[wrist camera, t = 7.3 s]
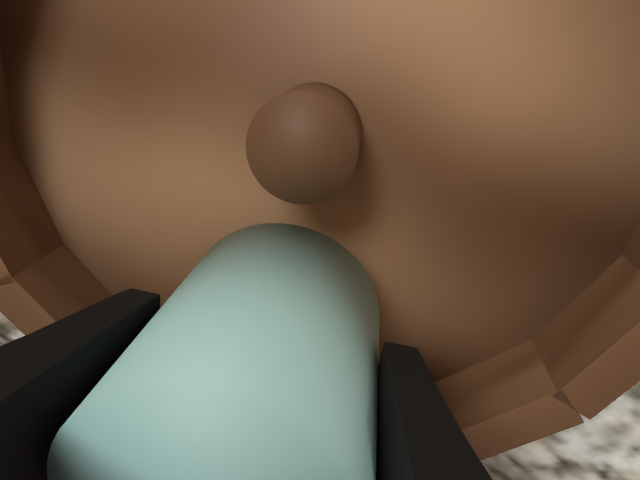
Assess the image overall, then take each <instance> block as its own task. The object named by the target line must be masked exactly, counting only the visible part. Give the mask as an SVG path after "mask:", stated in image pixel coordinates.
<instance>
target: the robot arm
mask: <svg viewBox="0 0 640 480" xmlns="http://www.w3.org/2000/svg"><path fill="white" fill-rule="evenodd" d="M159 309H160V294H156V293H151V292H146V291H142V290H137V289H132V288H130V289H127V290H125V291H122V292H120V293H117V294H115V295H113V296H111V297H108V298H106V299H104V300H102V301H99V302H97V303H95V304H93V305H91V306H89V307H87V308H84V309H82V310H80V311H78V312H76V313H74V314H72V315H69V316H67V317H65V318H63V319H61V320H58V321H56V322H54V323H52V324H50V325H48V326H45V327H43V328H41V329H39V330H37V331H34V332H32V333H30V334H28V335H26V336H23V337H21V338H19V339H16V340H14V341H12V342H9V343H7V344H4V345H2V346H0V480H47V460H48V454H49V451H50V447H51V444H52V441H53V440H54V438H55V436H56V434H57V432H58V431H59V429H60V428H61V427H62V425H63V424H64V423H65V422H66V421H67V419H68V418H69V417H70V416H71V415H72V413H73V412H74V411H75V410H76V409H77V407H78V406H79V405H80V404H81V403H82V401H83V400H84V399H85V398H86V397H87V395H88V394H89V393H90V392H91V391H92V389H93V388H94V387H95V386H96V385H97V383H98V382H99V381H100V380H101V379H102V377H103V376H104V375H105V374H106V373H107V371H108V370H109V369H110V368H111V367H112V366H113V364H114V363H115V362H116V361H117V360H118V358H119V357H120V356H121V355H122V354H123V352H124V351H125V350H126V349H127V348H128V346H129V345H130V344H131V343H132V342H133V340H134V339H135V338H136V337H137V336H138V334H139V333H140V332H141V331H142V330H143V328H144V327H145V326H146V325H147V324H148V322H149V321H150V320H151V319H152V318H153V316H154V315H155V314H156V313H157V312H158V310H159ZM376 480H492V478H491V477H490V475H489V474H488V472H487V471H486V469H485V468H484V466H483V464H482V463H481V461H480V460H479V458H478V456H477V455H476V453H475V452H474V450H473V448H472V447H471V445H470V443H469V442H468V440H467V438H466V437H465V435H464V433H463V431H462V430H461V428H460V426H459V425H458V423H457V421H456V420H455V418H454V416H453V414H452V413H451V411H450V409H449V407H448V405H447V404H446V402H445V400H444V398H443V396H442V394H441V392H440V391H439V389H438V387H437V385H436V383H435V381H434V379H433V377H432V375H431V373H430V371H429V369H428V367H427V365H426V363H425V361H424V359H423V357H422V355H421V354H420V352H419V351H418V349H417V348H415V347H410V346H405V345H401V344H396V343H391V342H386V341H385V343H384V347H383V350H382V354H381V358H380V362H379V365H378V404H377V456H376Z"/></svg>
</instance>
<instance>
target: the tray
mask: <svg viewBox="0 0 640 480" xmlns="http://www.w3.org/2000/svg"><path fill="white" fill-rule="evenodd" d="M264 223H284V224H293V225H297V226H302V227H306V228H309V229H312V230H314V231H317V232H320V233H322V234H324V235H326V236H328V237H330V238H331V239H333V240H334V241H336V242H337V243H339V244H341V245H342V246H343V247H344V248H346V249H347V250H348V251H349V252H350V253H351V254H352V255H353V256H354V257H355V258H356V259H357V260H358V261H359V262H360V263H361V265H362V266H363V268H364V269H365V271H366V272H367V273H368V275H369V277H370V279H371V281H372V283H373V285H374V288H375V291H376V294H377V298H378V304H379V361H378V365H379V362H380V358H381V354H382V350H383V347H384V343H385V341H386V342H391V343H396V344H401V345H405V346H410V347H415V348H417V349H418V351H419V352H420V354H421V355H422V357H423V359H424V361H425V363H426V365H427V367H428V369H429V371H430V373H431V375H432V377H433V379H434V381H435V383H436V385H437V387H438V389H439V391H440V392H441V394H442V396H443V398H444V400H445V402H446V404H447V405H448V407H449V409H450V411H451V413H452V414H453V416H454V418H455V420H456V421H457V423H458V425H459V426H460V428H461V430H462V431H463V433H464V435H465V437H466V438H467V440H468V442H469V443H470V445H471V447H472V448H473V450H474V452H475V453H476V455H477V456H478V458H479V460H483V459H486V458H489V457H491V456H494V455H497V454H499V453H502V452H505V451H508V450H510V449H513V448H516V447H519V446H521V445H524V444H527V443H530V442H532V441H535V440H538V439H541V438H543V437H546V436H549V435H552V434H554V433H557V432H560V431H563V430H565V429H568V428H571V427H573V426H576V425H579V424H582V423H584V422H583V420H582V418H581V416H580V414H582V415H583V416H585V417H587V418H588V419H591V418H593V417H594V416H595V415H597V414H598V413H599V412H600V411H602V410H603V409H604V408H606V407H607V406H608V405H609V404H611V403H612V402H613V401H614V400H616V399H617V398H618V397H620V396H621V395H622V394H623V393H625V392H626V391H627V390H629V389H630V388H631V387H632V386H634V385H635V384H636V383H637V382H639V381H640V0H0V312H1V313H2V314H3V315H4V316H5V317H7V318H8V319H9V320H10V321H11V322H12V323H13V324H14V325H15V326H16V327H17V328H18V329H19V330H20V331H21V332H22V333H23V334H24V335H25V336H26V335H28V334H30V333H32V332H34V331H37V330H39V329H41V328H43V327H45V326H48V325H50V324H52V323H54V322H56V321H58V320H61V319H63V318H65V317H67V316H69V315H72V314H74V313H76V312H78V311H80V310H82V309H84V308H87V307H89V306H91V305H93V304H95V303H97V302H99V301H102V300H104V299H106V298H108V297H111V296H113V295H115V294H117V293H120V292H122V291H125V290H127V289H130V288H132V289H137V290H142V291H146V292H151V293H156V294H160V308H161V307H162V306H163V304H164V303H165V302H166V301H167V300H168V298H169V297H170V296H171V295H172V294H173V292H174V291H175V290H176V289H177V288H178V286H179V285H180V284H181V283H182V282H183V280H184V279H185V278H186V277H187V276H188V274H189V273H190V272H191V271H192V270H193V268H194V267H195V266H196V265H197V264H198V262H199V261H200V260H201V259H202V258H203V256H204V255H205V254H206V253H207V252H208V251H209V249H210V248H211V247H212V246H213V245H215V244H216V243H217V242H218V241H219V240H221V239H222V238H224V237H225V236H227V235H228V234H230V233H232V232H235V231H237V230H239V229H242V228H245V227H248V226H252V225H258V224H264ZM579 413H580V414H579Z"/></svg>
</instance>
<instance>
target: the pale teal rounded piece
mask: <svg viewBox="0 0 640 480" xmlns="http://www.w3.org/2000/svg"><path fill="white" fill-rule="evenodd" d="M378 361H379V304H378V298H377V294H376V291H375V288H374V285H373V283H372V281H371V279H370V277H369V275H368V273H367V272H366V271H365V269H364V268H363V266H362V265H361V263H360V262H359V261H358V260H357V259H356V258H355V257H354V256H353V255H352V254H351V253H350V252H349V251H348V250H347V249H346V248H344V247H343V246H342V245H341V244H339V243H337V242H336V241H334V240H333V239H331V238H330V237H328V236H326V235H324V234H322V233H320V232H317V231H314V230H312V229H309V228H306V227H302V226H297V225H293V224H284V223H264V224H258V225H252V226H248V227H245V228H242V229H239V230H237V231H235V232H232V233H230V234H228V235H227V236H225V237H224V238H222V239H221V240H219V241H218V242H217V243H216V244H215V245H213V246H212V247H211V248H210V249H209V251H208V252H207V253H206V254H205V255H204V256H203V258H202V259H201V260H200V261H199V262H198V264H197V265H196V266H195V267H194V268H193V270H192V271H191V272H190V273H189V274H188V276H187V277H186V278H185V279H184V280H183V282H182V283H181V284H180V285H179V286H178V288H177V289H176V290H175V291H174V292H173V294H172V295H171V296H170V297H169V298H168V300H167V301H166V302H165V303H164V304H163V306H162V307H161V308H160V309H159V310H158V312H157V313H156V314H155V315H154V316H153V318H152V319H151V320H150V321H149V322H148V324H147V325H146V326H145V327H144V328H143V330H142V331H141V332H140V333H139V334H138V336H137V337H136V338H135V339H134V340H133V342H132V343H131V344H130V345H129V346H128V348H127V349H126V350H125V351H124V352H123V354H122V355H121V356H120V357H119V358H118V360H117V361H116V362H115V363H114V364H113V366H112V367H111V368H110V369H109V370H108V371H107V373H106V374H105V375H104V376H103V377H102V379H101V380H100V381H99V382H98V383H97V385H96V386H95V387H94V388H93V389H92V391H91V392H90V393H89V394H88V395H87V397H86V398H85V399H84V400H83V401H82V403H81V404H80V405H79V406H78V407H77V409H76V410H75V411H74V412H73V413H72V415H71V416H70V417H69V418H68V419H67V421H66V422H65V423H64V424H63V425H62V427H61V428H60V429H59V431H58V432H57V434H56V436H55V438H54V440H53V441H52V444H51V447H50V451H49V454H48V460H47V480H376V456H377V404H378Z"/></svg>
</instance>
